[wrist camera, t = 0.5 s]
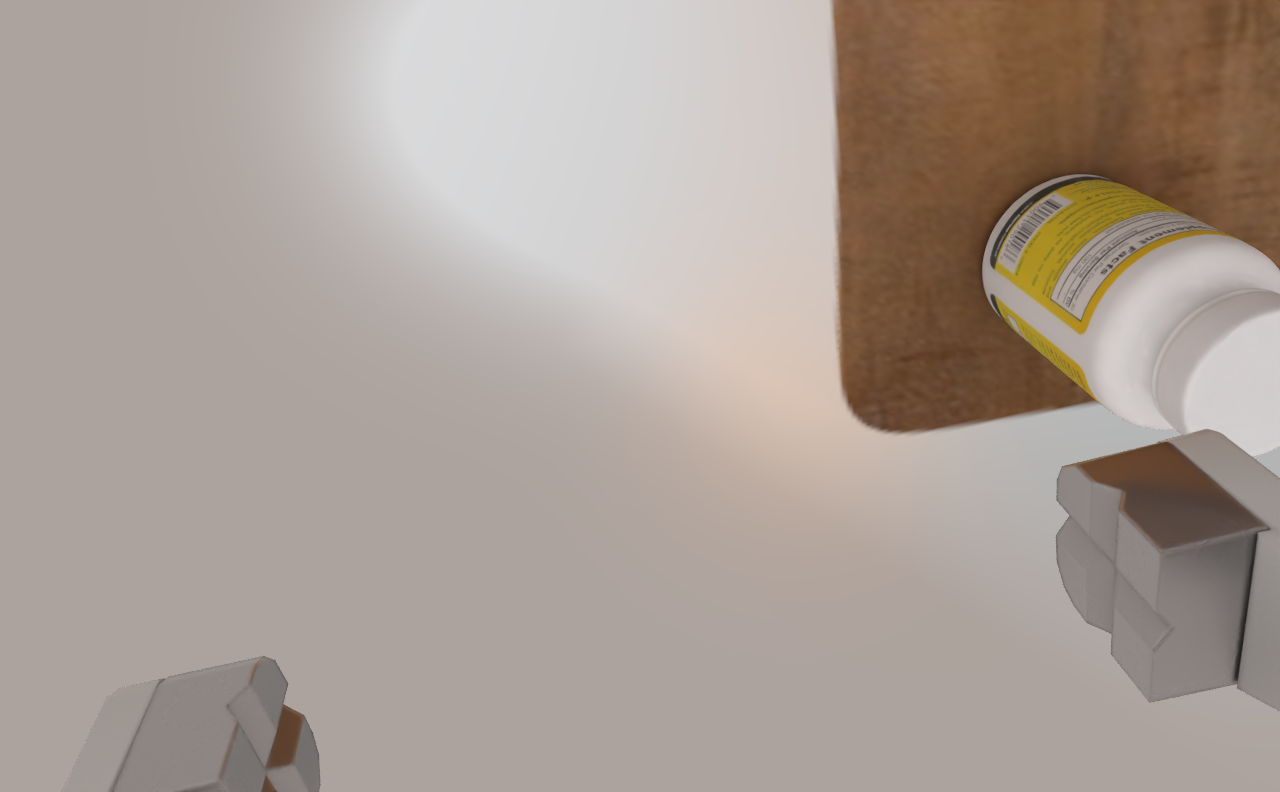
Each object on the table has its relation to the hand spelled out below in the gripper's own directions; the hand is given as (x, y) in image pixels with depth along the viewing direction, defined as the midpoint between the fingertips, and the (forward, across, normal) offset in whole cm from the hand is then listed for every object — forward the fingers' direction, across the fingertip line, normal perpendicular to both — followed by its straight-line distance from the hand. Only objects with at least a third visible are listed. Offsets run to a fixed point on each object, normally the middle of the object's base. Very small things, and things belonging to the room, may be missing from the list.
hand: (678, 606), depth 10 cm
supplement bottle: (+21, -15, +7) cm, 27 cm away
